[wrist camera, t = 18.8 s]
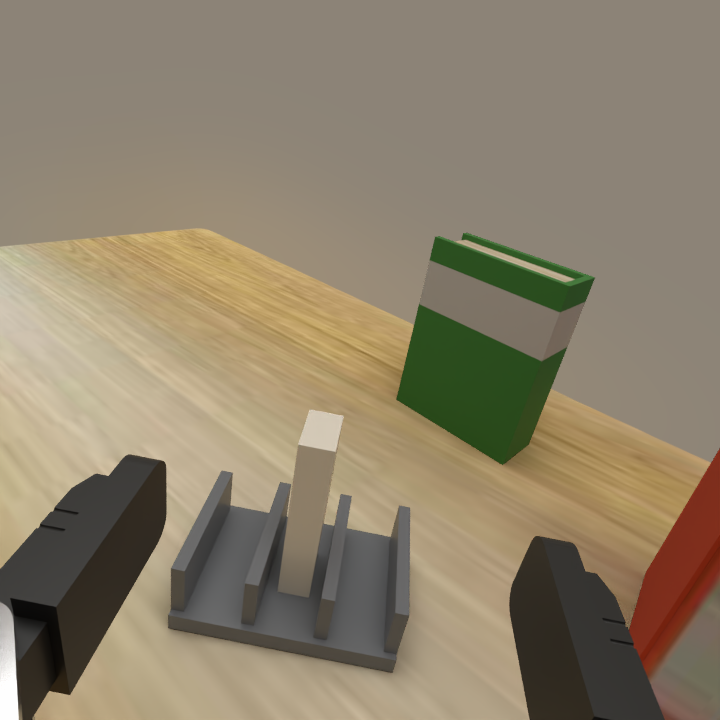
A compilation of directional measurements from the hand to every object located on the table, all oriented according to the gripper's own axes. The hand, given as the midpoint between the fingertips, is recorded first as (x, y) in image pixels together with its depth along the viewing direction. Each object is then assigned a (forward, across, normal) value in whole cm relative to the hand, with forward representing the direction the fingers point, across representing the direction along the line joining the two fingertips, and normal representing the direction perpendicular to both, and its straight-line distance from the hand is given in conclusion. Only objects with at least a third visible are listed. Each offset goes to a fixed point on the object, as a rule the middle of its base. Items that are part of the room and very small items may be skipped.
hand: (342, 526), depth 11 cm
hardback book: (+54, -15, +30) cm, 63 cm away
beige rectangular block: (+22, +2, +28) cm, 36 cm away
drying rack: (+22, +2, +30) cm, 37 cm away
